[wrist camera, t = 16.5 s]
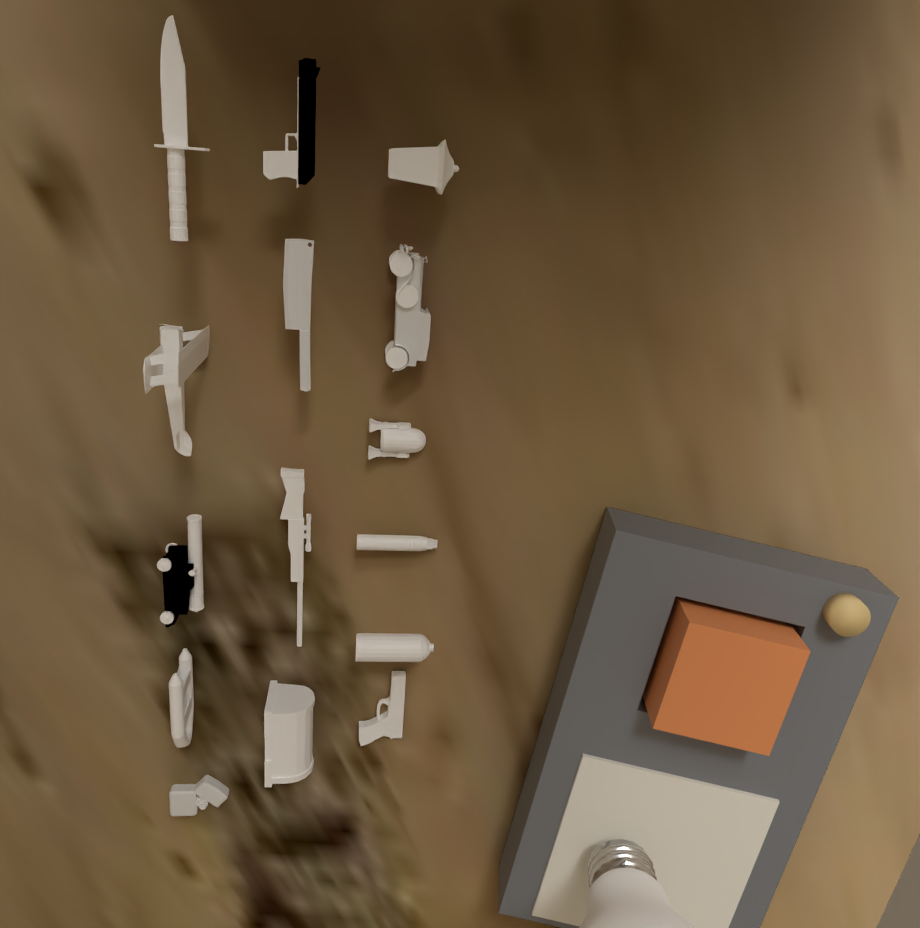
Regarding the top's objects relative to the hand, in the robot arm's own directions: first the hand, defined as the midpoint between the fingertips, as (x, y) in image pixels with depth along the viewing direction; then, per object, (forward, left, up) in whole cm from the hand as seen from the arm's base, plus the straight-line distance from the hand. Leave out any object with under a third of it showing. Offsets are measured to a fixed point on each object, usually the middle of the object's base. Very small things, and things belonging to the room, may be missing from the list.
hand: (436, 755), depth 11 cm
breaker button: (+8, +13, -24) cm, 29 cm away
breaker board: (+13, +13, -25) cm, 31 cm away
